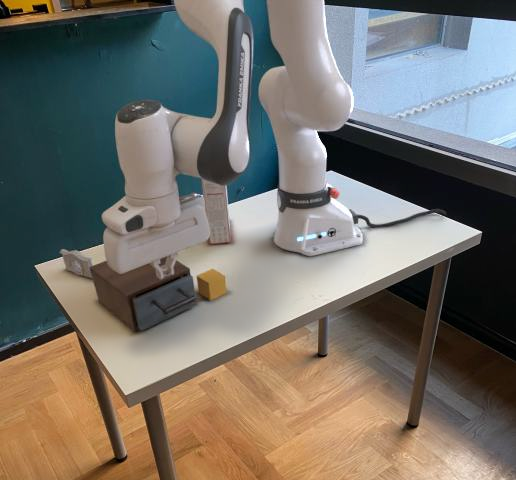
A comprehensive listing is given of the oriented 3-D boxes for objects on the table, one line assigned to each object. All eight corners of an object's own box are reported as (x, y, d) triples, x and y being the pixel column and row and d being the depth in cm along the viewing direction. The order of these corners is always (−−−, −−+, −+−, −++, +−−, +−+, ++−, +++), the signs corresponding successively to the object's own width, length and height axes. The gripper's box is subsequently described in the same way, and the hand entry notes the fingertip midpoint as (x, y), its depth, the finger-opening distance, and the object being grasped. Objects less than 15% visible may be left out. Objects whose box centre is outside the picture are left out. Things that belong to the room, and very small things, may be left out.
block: (226, 293, 112) (225, 275, 110) (210, 300, 110) (208, 283, 107) (214, 285, 115) (212, 268, 112) (198, 292, 113) (196, 275, 110)
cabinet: (194, 303, 109) (189, 268, 104) (135, 332, 102) (126, 295, 97) (155, 277, 119) (149, 243, 114) (98, 301, 112) (89, 267, 106)
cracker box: (207, 222, 142) (199, 144, 129) (229, 220, 142) (223, 143, 129) (207, 245, 131) (198, 162, 118) (231, 243, 131) (224, 161, 118)
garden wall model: (105, 279, 119) (100, 256, 115) (100, 283, 118) (94, 260, 114) (70, 267, 124) (63, 245, 121) (64, 270, 123) (57, 248, 120)
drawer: (212, 315, 104) (209, 286, 100) (156, 343, 97) (150, 313, 93) (159, 279, 116) (154, 252, 112) (106, 302, 110) (99, 274, 105)
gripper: (192, 185, 95) (200, 252, 104) (92, 217, 85) (109, 289, 93) (213, 194, 92) (219, 263, 100) (110, 229, 81) (126, 302, 90)
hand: (165, 275), depth 97 cm, fingers closed
